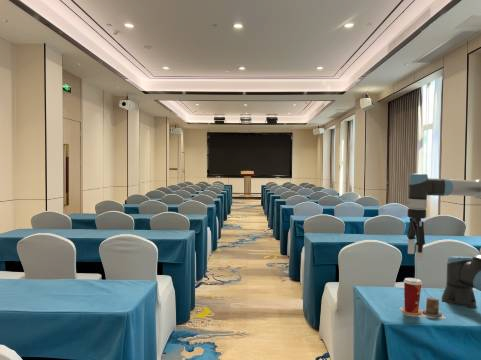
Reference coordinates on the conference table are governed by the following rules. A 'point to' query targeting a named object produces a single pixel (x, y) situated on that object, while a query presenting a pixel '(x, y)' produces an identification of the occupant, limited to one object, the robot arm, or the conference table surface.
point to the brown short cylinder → (432, 306)
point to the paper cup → (412, 294)
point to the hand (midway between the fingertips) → (414, 256)
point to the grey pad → (432, 314)
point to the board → (422, 314)
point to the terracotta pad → (412, 313)
